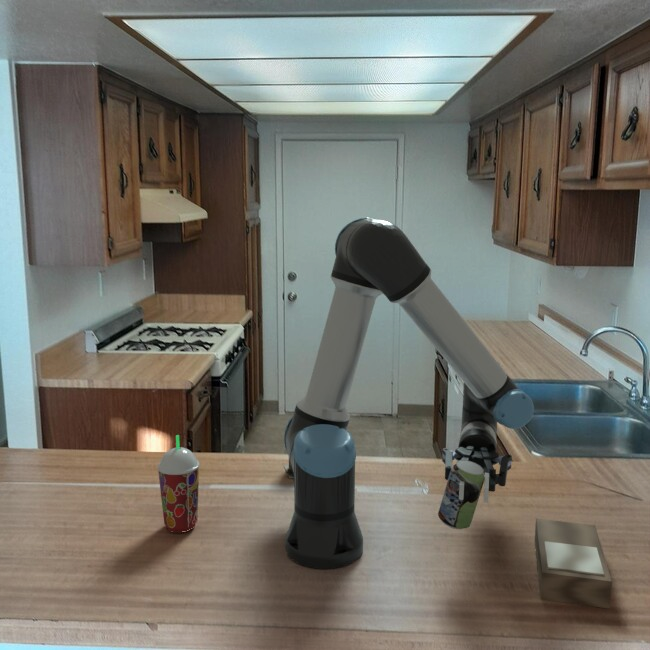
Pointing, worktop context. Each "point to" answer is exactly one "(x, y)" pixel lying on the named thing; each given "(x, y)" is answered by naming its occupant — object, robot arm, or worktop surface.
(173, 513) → the smoothie
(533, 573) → the worktop surface
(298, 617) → the worktop surface
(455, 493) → the beverage can
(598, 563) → the riser
